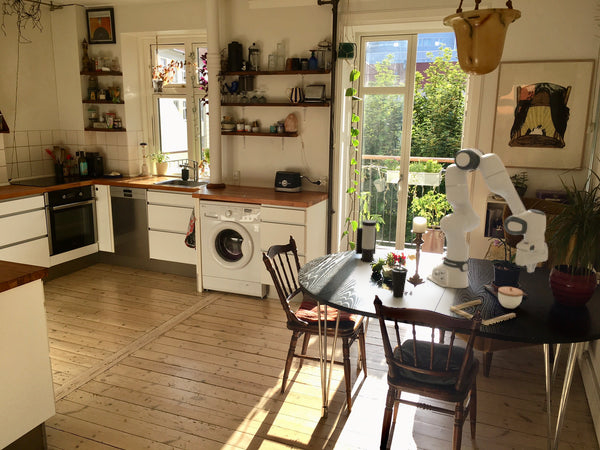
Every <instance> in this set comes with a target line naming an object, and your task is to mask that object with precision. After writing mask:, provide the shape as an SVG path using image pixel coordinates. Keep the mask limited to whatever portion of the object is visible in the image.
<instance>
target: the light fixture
mask: <svg viewBox="0 0 600 450" xmlns="http://www.w3.org/2000/svg"><path fill="white" fill-rule="evenodd" d="M361 225H362V227H357V228H356V244H355V254H356V255H361V257H360V262H363V263H373V262H372V261H374V262H375V258H374V255H375V254H376V247H377V246H376V245H377V244H376V243H377V227H376V226H377V221H376V220H373V219H363V220H362V222H361Z"/></svg>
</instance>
